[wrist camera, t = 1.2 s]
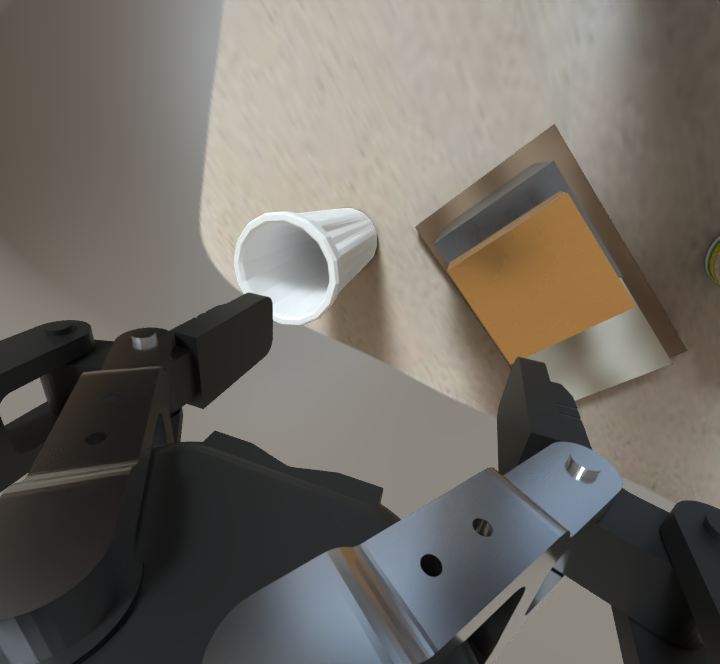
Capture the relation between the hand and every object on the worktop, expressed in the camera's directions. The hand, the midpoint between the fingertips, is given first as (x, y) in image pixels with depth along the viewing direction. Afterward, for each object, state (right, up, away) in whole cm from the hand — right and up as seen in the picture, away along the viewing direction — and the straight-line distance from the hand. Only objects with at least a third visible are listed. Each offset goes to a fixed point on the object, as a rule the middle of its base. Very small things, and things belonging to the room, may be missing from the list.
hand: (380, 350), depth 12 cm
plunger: (+11, +7, +16) cm, 21 cm away
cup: (-2, +10, +26) cm, 28 cm away
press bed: (+16, +5, +22) cm, 28 cm away
